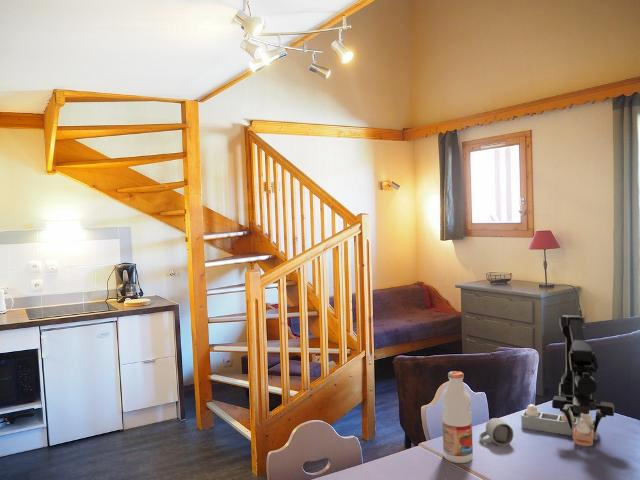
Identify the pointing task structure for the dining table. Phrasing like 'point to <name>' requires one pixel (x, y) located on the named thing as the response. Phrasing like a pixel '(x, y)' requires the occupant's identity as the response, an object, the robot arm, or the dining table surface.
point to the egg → (583, 427)
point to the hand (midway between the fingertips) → (583, 430)
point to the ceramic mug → (497, 432)
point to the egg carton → (553, 421)
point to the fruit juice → (457, 421)
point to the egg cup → (583, 438)
